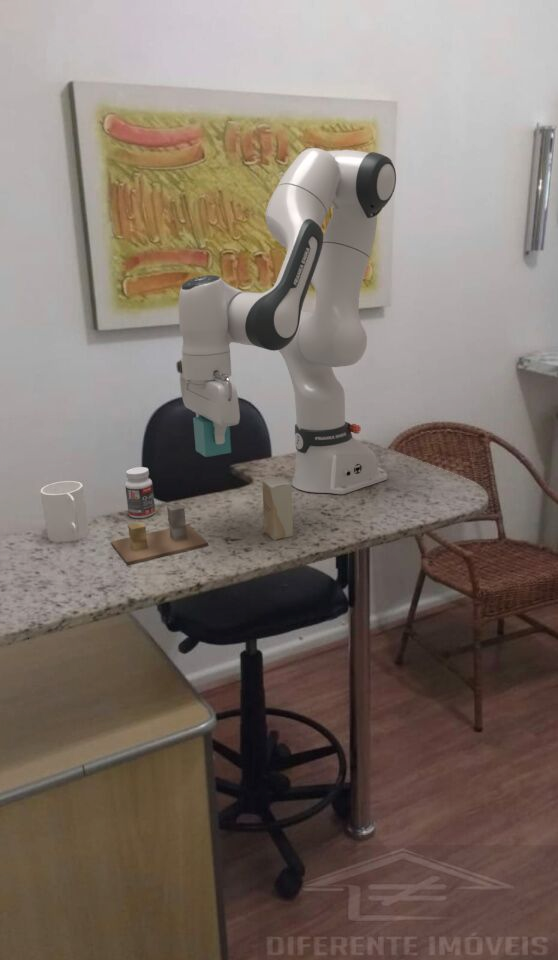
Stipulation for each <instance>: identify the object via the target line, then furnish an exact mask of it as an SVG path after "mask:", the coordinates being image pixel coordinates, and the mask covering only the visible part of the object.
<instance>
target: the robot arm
mask: <svg viewBox="0 0 558 960" xmlns="http://www.w3.org/2000/svg"><path fill="white" fill-rule="evenodd" d="M396 183H397V173H396V168H395V165H394V163H393V161H392V159H391V158H389V157H388V156H386V155H384V154H382V153H378V152H373V151H371V152H366V151H361V150H353V149H343V150H342V149H341V150H324V149H322V148H317V147H311V148H306V149H304V150H303V151H302V152H301V153H299V155H297V157H296V158H295V159H294V161H292V163H291V164H290V165H289V167H288V168H287V170H286V171H285V173H284V174H283V176H282V177H281V179H280V180H279V182H278V184H277V186H276V188H275V189H274V191H273V194H271V197H270V199H269V200H268V204H267V206H266V210H265V213H264V214H265V215H264V219H265V224H266V227H267V229H268V231H269V233H270V235H271V236H272V237H273V239H274V240H275V241H276V242H278V243H279V244H280V245H281V246H282V247H284V248H285V249H286V255H285V257H284V260H283V262H282V265H281V267H280V271H279V273H278V275H277V278H276V281H275V284H274V285H273V286H272V287H271V288H270V289H268V290H266V291H264V292H251V291H250V292H249V291H242V290H241V289H238V288H236V287H233V286H232V285H230V284H228V283H226V282H225V281H224V280H223V279H222V278H221V277H220V276H218V275H214V274H211V275H210V274H209V275H202V276H196V277H193V278H190V279H188V280H186V281H185V282H184V283H182V285H181V287H180V290H179V294H178V295H179V296H178V320H179V330H180V334H181V336H182V348H181V356H182V357H181V358H180V359H179V360H177V361H176V364H175V365H176V372H177V373H178V374H179V384H180V385H179V386H180V390H181V391H180V392H181V398H182V401H183V405H184V407H185V408H186V409H189V410H190V411H191V412H194V413H195V417H199V416H203V417H205V418H207V419H209V420H210V421H212V422H213V425H214V427H215V432H214V434H213V442H214V443H216V444H223V443H224V442H225V435H224V434H225V431H226V428H227V426H229V427H231V426H236V425H239V423H240V420H241V419H240V418H241V414H240V413H241V412H240V405H239V397H238V396H239V395H238V391H237V388H236V386H235V383H233V382H232V381H230V377H231V376H232V362H231V347H230V345H231V343H236V344H240V345H245V346H246V345H247V346H253V347H258V348H262V349H265V350H268V351H274V352H275V351H278V352H279V353H280V354H281V357H282V358H283V359H284V362H285V365H286V367H287V370H288V373H289V376H290V377H289V378H290V380H291V382H292V387H293V393H294V402H295V405H294V406H295V417H296V419H295V420H296V423H295V424H294V444H295V450H296V458H295V459H296V460H295V467H294V473H293V477H292V478H293V479H292V481H291V484H292V486H293V487H294V488H295V489H297V490H300V491H304V492H308V493H316V494H317V493H318V494H321V493H322V494H325V493H326V494H336V495H345V494H349V493H351V492H354V491H357V490H360V489H363V488H365V487H369V486H371V485H375V484H377V483H381V482H383V481H386V480H388V473H387V471H385V470H384V469H383V468H381V467H379V466H378V462H377V457H376V454H375V453H374V451H373V450H372V449H370V448H369V447H368V446H366V445H365V444H364V443H362V442H360V441H359V439H356V438H355V437H353V434H352V433H354V434H360V432H361V426H360V425H358V424H356V423H352V424H351V423H349V422H347V421H346V410H345V409H346V405H345V404H346V403H345V400H346V399H345V394H346V393H345V390H344V387H343V386H342V384H341V383H340V381H339V380H338V379H337V376H336V375H335V373H334V370H333V368H338V367H339V368H341V367H347V366H348V367H349V366H353V365H356V363H358V362H359V361H360V360H361V359H362V358H363V356H364V353H365V352H366V348H367V346H368V337H367V333H366V330H365V328H364V326H363V324H362V322H361V319H360V313H359V312H360V311H359V304H360V303H359V302H360V294H361V288H362V285H363V282H364V278H365V275H366V271H367V268H368V265H369V261H370V258H371V254H372V251H373V246H374V242H375V238H376V232H377V224H378V215H379V214H380V213H381V212H382V210H383V208H385V207H386V206H387V204H388V203H389V202H390V200H391V198H392V196H393V194H394V191H395V189H396V185H397V184H396ZM331 208H332V215H331V217H330V219H329V221H328V224H327V226H326V228H325V230H324V233H323V230H322V227H323V224H324V221H325V220H326V217H327V215H328V213H329V211H330V209H331ZM310 285H312V288H314V290H315V294H316V296H315V297H316V302H315V308H314V311H307V310H306V311H305V310H302V309H303V306H304V303H305V302H304V301H305V299H306V296H307V294H308V291H309V289H310Z"/></svg>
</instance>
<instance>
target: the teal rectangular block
mask: <svg viewBox="0 0 558 960" xmlns="http://www.w3.org/2000/svg"><path fill="white" fill-rule="evenodd" d="M192 420H193V421H192V422H193V431H194V444H195V446H194V447H195V451H196V452H197V453H199V454H200V455H202V456H203V457H205V458H208V457H209V458H210V457H215V456H220V455H226V454H231V453H232V444H231V443H232V441H231V431H230V430H231V429H230V428H231V426H227V428H226V431H225V434H224V435H225V442H224V443H223V444H216V443H214V442H213V434H214V432H215V427H214V425H213V422H212V421H210V420H209V419H207V418H205V417H203V416H199V417H196V416H194V417H192Z"/></svg>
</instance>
